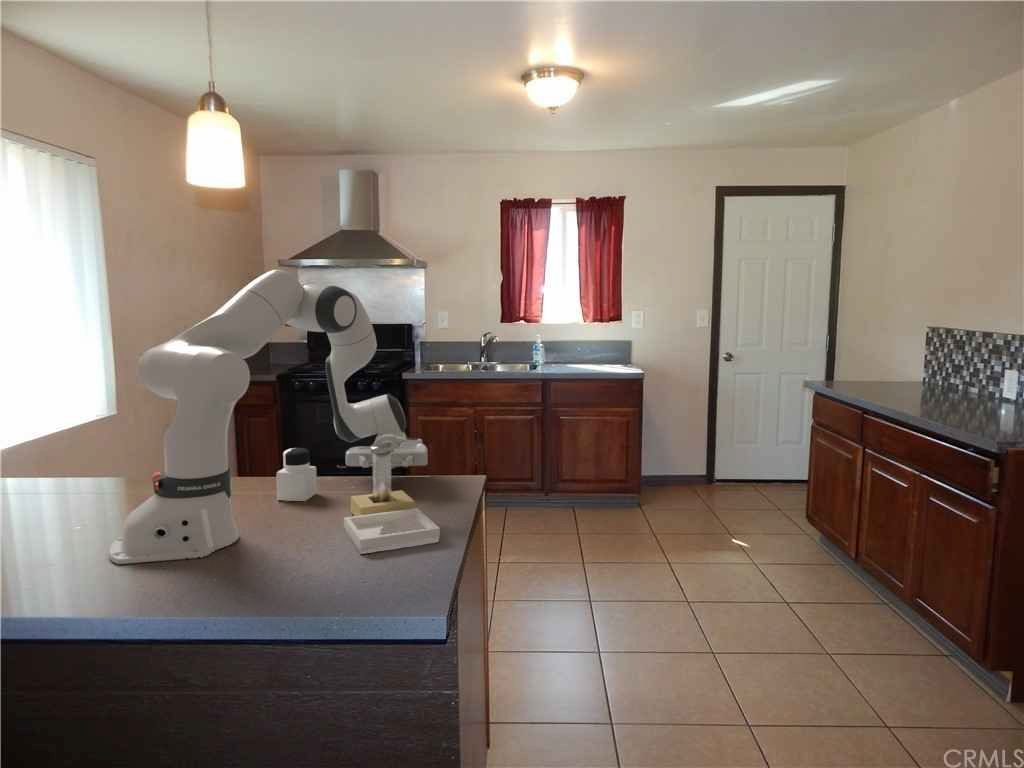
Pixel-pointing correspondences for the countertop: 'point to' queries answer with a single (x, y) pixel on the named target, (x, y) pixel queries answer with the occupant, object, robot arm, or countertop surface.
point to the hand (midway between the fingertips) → (385, 464)
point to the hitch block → (380, 504)
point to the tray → (368, 526)
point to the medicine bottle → (296, 476)
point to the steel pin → (381, 472)
